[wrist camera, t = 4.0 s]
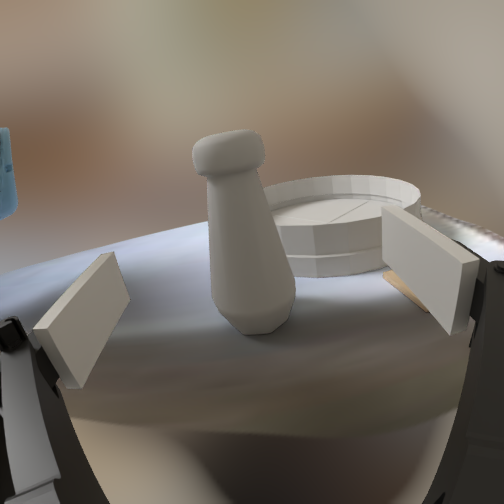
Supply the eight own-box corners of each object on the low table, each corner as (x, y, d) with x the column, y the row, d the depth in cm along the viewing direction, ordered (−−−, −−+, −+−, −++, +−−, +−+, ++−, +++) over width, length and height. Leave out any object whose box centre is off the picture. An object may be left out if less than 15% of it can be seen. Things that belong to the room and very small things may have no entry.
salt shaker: (212, 311, 24) (172, 143, 20) (278, 289, 26) (252, 128, 21) (234, 354, 19) (184, 140, 14) (313, 324, 21) (289, 122, 16)
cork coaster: (426, 312, 19) (427, 306, 19) (383, 277, 24) (383, 272, 24) (479, 287, 20) (480, 282, 20) (434, 260, 25) (434, 255, 25)
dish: (199, 252, 38) (189, 213, 36) (311, 202, 51) (308, 172, 49) (364, 307, 22) (363, 244, 20) (443, 219, 34) (444, 181, 33)
